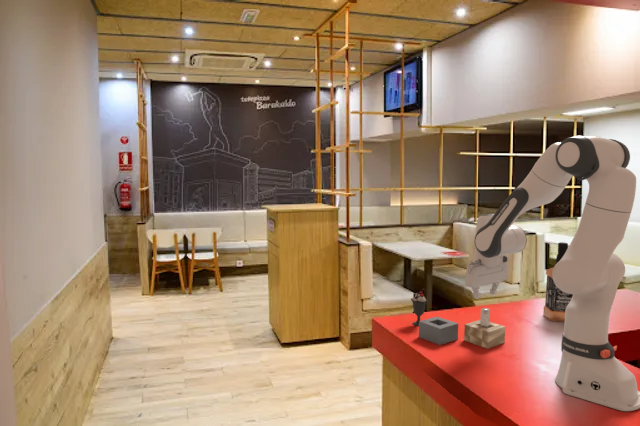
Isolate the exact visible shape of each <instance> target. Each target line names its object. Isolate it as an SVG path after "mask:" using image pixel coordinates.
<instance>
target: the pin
mask: <svg viewBox="0 0 640 426" xmlns="http://www.w3.org/2000/svg"><path fill="white" fill-rule="evenodd" d="M479 318H480V319H479V320H480V327H483V328H486V329H487V328H489V327H490V322H491V319H490V318H491V309H490V308H487V307H482V308H480V317H479Z"/></svg>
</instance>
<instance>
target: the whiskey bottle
mask: <svg viewBox="0 0 640 426" xmlns="http://www.w3.org/2000/svg"><path fill="white" fill-rule="evenodd" d="M568 247H569V243H568V242H558V244H557V254H556V258H555V265H556V264H557V263H558V262H559V261H560V260H561V259H562V257H563V256H564V254H565V252H566V251H567V249H568ZM553 268H554V266H553V267H549V268H547V269H546V271H545V274H546V286H545V287H546V289H545V305H543V311H542V312H543V316H544V317H545V318H547V320H549V321H551V322H562V323H563V322H564V323H565V310H566V307H567V305H568V304H569V302H570V301H571V299H572V296H573V294H568V293H565V292H563V291H561V290H560V289H559V288H558V287H557V286H556V285H555V283H554V281H553V277H552V272H553Z"/></svg>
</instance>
